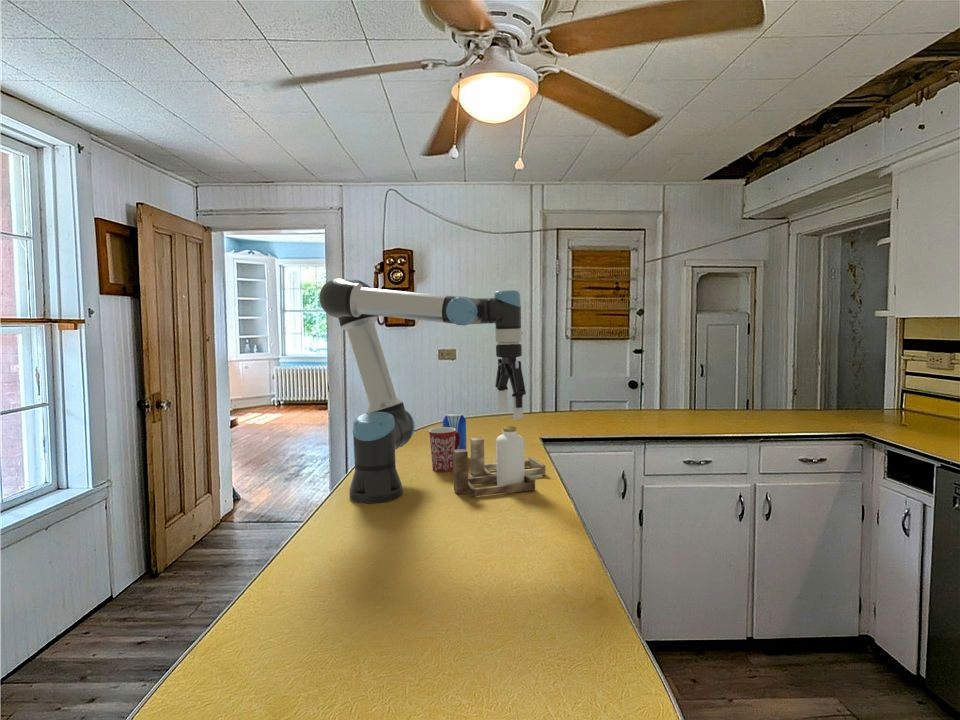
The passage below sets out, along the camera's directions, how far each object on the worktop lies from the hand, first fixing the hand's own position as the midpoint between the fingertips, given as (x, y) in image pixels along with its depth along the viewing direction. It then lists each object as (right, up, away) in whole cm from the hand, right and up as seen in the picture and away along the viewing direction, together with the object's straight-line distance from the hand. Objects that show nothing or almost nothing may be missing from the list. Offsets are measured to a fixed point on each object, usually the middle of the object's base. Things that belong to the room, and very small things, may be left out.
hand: (510, 415), depth 168 cm
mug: (-20, -21, +25) cm, 38 cm away
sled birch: (-1, -20, +15) cm, 25 cm away
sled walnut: (-5, -21, 0) cm, 22 cm away
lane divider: (+3, -21, +9) cm, 23 cm away
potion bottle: (0, -22, +2) cm, 22 cm away
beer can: (-18, -19, +39) cm, 47 cm away
